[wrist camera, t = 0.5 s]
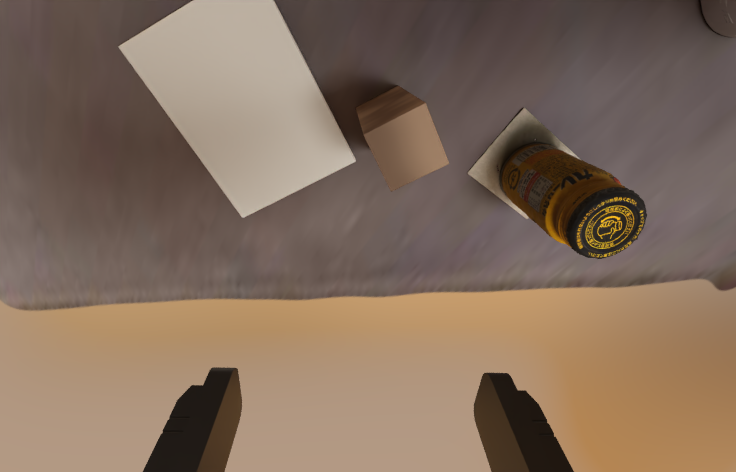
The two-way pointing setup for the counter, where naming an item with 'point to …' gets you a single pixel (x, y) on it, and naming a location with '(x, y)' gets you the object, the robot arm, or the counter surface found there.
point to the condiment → (560, 190)
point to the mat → (241, 98)
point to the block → (401, 136)
